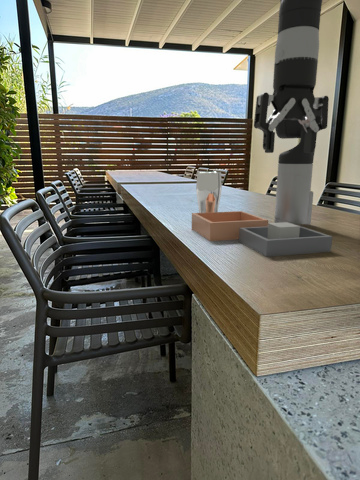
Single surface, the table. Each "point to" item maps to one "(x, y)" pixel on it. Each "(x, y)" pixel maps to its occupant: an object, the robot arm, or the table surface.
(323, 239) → the charcoal bin
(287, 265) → the table surface
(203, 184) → the silver metal tumbler
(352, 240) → the table surface
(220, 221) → the terracotta tray
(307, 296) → the table surface
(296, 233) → the off-white cube block
